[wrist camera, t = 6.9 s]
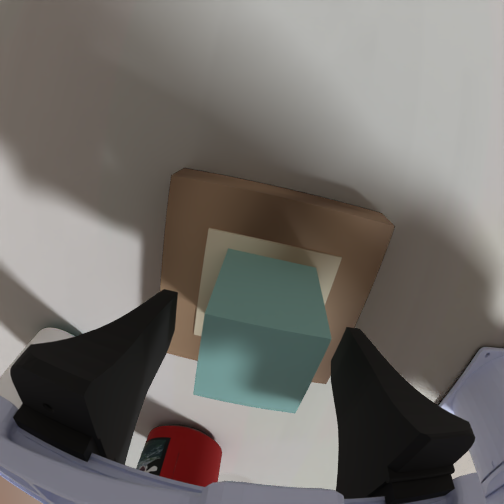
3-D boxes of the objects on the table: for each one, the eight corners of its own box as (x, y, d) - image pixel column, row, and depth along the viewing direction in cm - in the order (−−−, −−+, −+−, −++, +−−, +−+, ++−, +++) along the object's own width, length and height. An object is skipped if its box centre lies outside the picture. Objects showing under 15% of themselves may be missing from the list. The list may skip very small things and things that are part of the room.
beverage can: (145, 411, 23) (101, 531, 12) (225, 426, 23) (201, 559, 12) (155, 448, 26) (124, 547, 15) (222, 461, 25) (204, 567, 14)
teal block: (316, 267, 14) (331, 338, 9) (292, 335, 16) (295, 413, 11) (228, 248, 14) (204, 313, 9) (215, 319, 16) (193, 394, 11)
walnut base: (381, 213, 15) (395, 227, 13) (323, 361, 19) (326, 385, 17) (184, 167, 15) (170, 175, 13) (167, 329, 19) (157, 351, 17)
